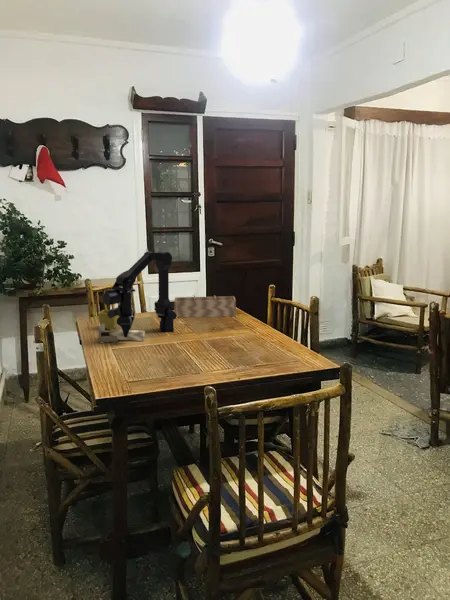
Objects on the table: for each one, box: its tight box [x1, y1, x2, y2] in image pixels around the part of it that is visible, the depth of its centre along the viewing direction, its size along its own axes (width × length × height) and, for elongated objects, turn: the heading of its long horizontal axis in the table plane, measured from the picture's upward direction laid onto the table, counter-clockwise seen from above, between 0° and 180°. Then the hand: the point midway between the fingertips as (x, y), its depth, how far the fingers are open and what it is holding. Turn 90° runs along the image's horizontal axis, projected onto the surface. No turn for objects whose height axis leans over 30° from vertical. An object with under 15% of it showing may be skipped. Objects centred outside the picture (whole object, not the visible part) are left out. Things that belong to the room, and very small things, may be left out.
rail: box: [108, 328, 146, 342], centre depth 230 cm, size 16×4×4 cm, turn 87°
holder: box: [173, 294, 237, 318], centre depth 284 cm, size 35×13×10 cm, turn 94°
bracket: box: [97, 324, 119, 344], centre depth 229 cm, size 8×10×7 cm
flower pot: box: [97, 309, 119, 330], centre depth 252 cm, size 9×9×9 cm
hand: (127, 334), depth 230 cm, fingers open, 9 cm apart
